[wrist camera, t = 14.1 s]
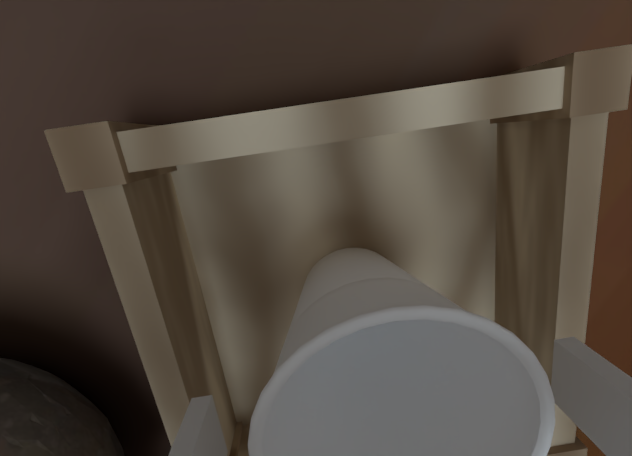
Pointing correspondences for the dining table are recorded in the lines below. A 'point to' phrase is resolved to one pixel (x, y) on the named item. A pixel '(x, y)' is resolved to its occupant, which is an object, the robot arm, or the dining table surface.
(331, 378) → the cup
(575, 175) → the crate
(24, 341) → the dining table surface
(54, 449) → the bowl
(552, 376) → the robot arm
